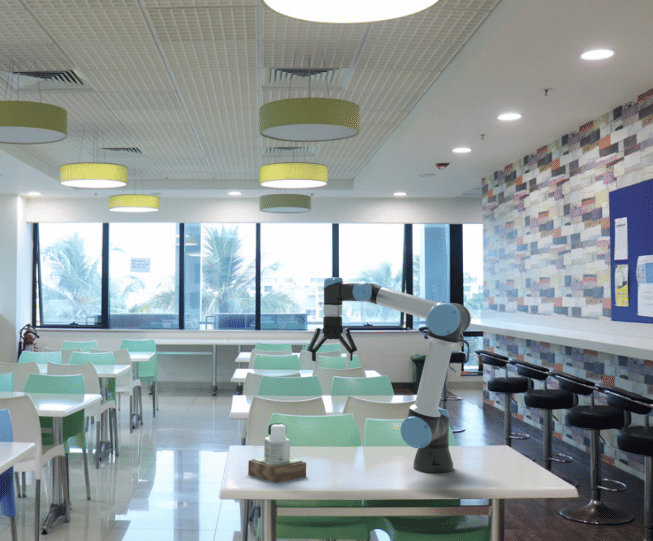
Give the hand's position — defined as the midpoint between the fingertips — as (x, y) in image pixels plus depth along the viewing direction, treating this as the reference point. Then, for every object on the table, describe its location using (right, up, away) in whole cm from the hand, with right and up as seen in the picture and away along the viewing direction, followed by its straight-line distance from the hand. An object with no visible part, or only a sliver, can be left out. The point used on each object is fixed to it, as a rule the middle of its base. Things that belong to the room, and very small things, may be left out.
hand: (332, 369), depth 272 cm
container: (-20, -30, -23) cm, 43 cm away
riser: (-20, -35, -23) cm, 47 cm away
